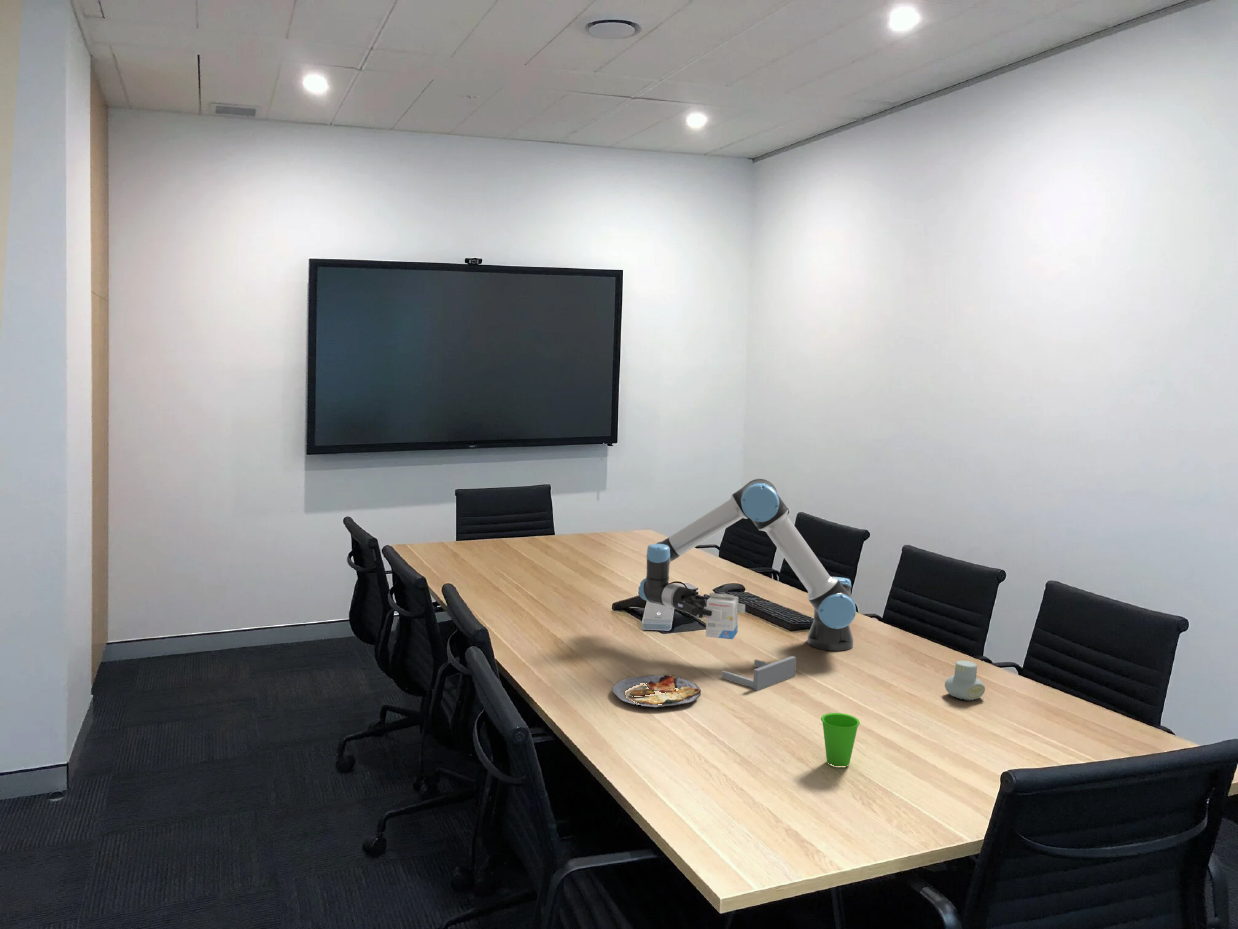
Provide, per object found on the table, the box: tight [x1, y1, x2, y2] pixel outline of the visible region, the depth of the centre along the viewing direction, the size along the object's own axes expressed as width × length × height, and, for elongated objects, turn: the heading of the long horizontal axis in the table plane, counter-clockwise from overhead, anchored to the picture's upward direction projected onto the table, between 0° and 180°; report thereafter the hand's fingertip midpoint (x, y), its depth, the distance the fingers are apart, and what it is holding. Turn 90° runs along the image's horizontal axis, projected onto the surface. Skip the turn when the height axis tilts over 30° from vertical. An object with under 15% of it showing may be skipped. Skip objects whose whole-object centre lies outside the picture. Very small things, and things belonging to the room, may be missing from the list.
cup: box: [820, 712, 861, 766], centre depth 228 cm, size 9×9×11 cm
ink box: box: [705, 592, 739, 640], centre depth 297 cm, size 9×8×13 cm
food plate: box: [612, 674, 702, 708], centre depth 271 cm, size 25×23×4 cm
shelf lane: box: [721, 655, 797, 692], centre depth 288 cm, size 14×19×6 cm
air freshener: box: [944, 660, 986, 701], centre depth 275 cm, size 11×8×10 cm
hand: (732, 612), depth 294 cm, fingers closed on ink box, 11 cm apart
